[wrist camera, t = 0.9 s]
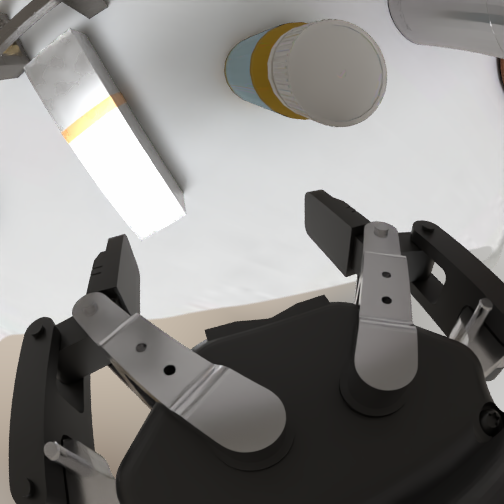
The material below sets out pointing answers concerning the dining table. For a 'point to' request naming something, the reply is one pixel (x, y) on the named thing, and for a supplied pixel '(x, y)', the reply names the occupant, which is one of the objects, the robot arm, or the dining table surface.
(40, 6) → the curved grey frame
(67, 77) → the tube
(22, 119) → the dining table surface
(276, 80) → the bottle
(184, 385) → the robot arm
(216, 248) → the dining table surface
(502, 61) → the ceramic jug
